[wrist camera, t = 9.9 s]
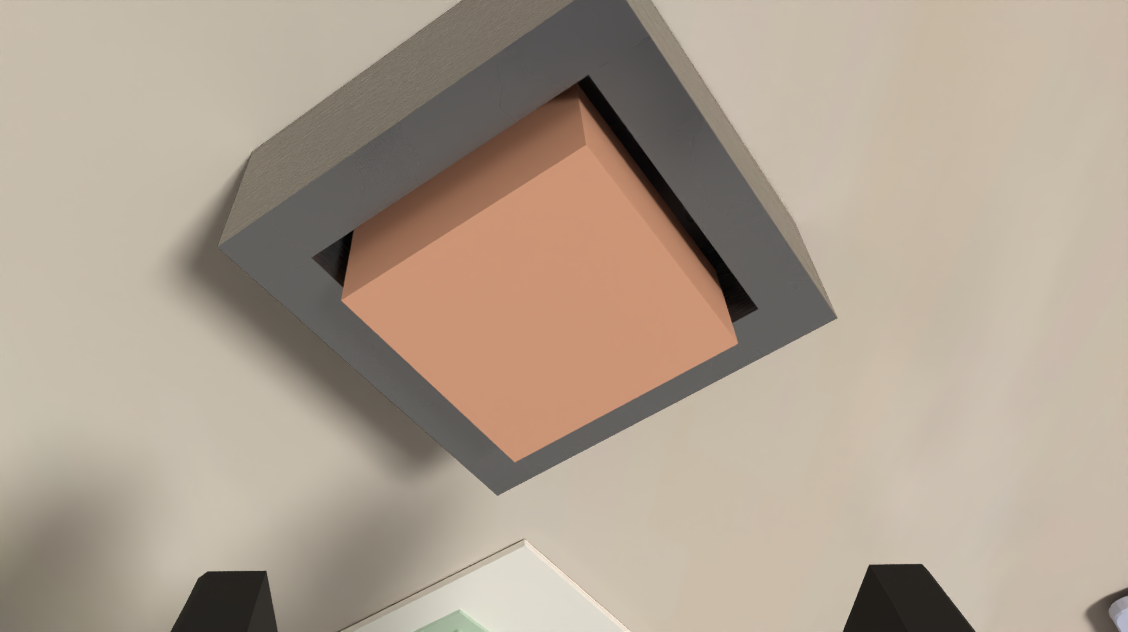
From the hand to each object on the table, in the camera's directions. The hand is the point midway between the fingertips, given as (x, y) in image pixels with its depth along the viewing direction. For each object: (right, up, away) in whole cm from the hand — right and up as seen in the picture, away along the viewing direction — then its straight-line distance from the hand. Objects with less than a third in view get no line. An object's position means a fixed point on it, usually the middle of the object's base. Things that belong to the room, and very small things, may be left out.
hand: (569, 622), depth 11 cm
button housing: (-1, +6, +7) cm, 9 cm away
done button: (0, +5, +6) cm, 7 cm away
